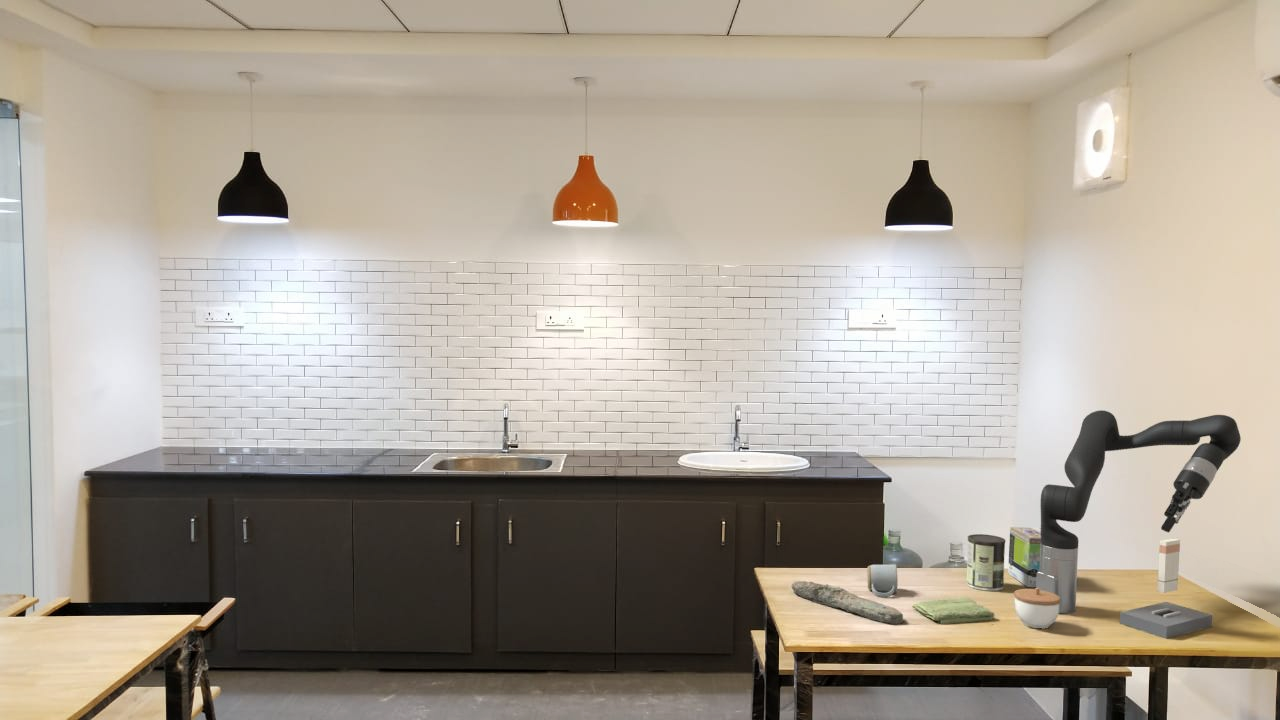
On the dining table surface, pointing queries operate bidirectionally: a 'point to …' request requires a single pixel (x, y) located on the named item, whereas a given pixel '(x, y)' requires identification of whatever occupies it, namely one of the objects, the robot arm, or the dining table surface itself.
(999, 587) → the coffee can
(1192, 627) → the grey slotted block
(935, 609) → the washcloth
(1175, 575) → the banded cream bar
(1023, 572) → the green printed box
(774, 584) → the dining table surface
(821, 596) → the long grey stone
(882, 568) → the ceramic mug
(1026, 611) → the lidded jar
